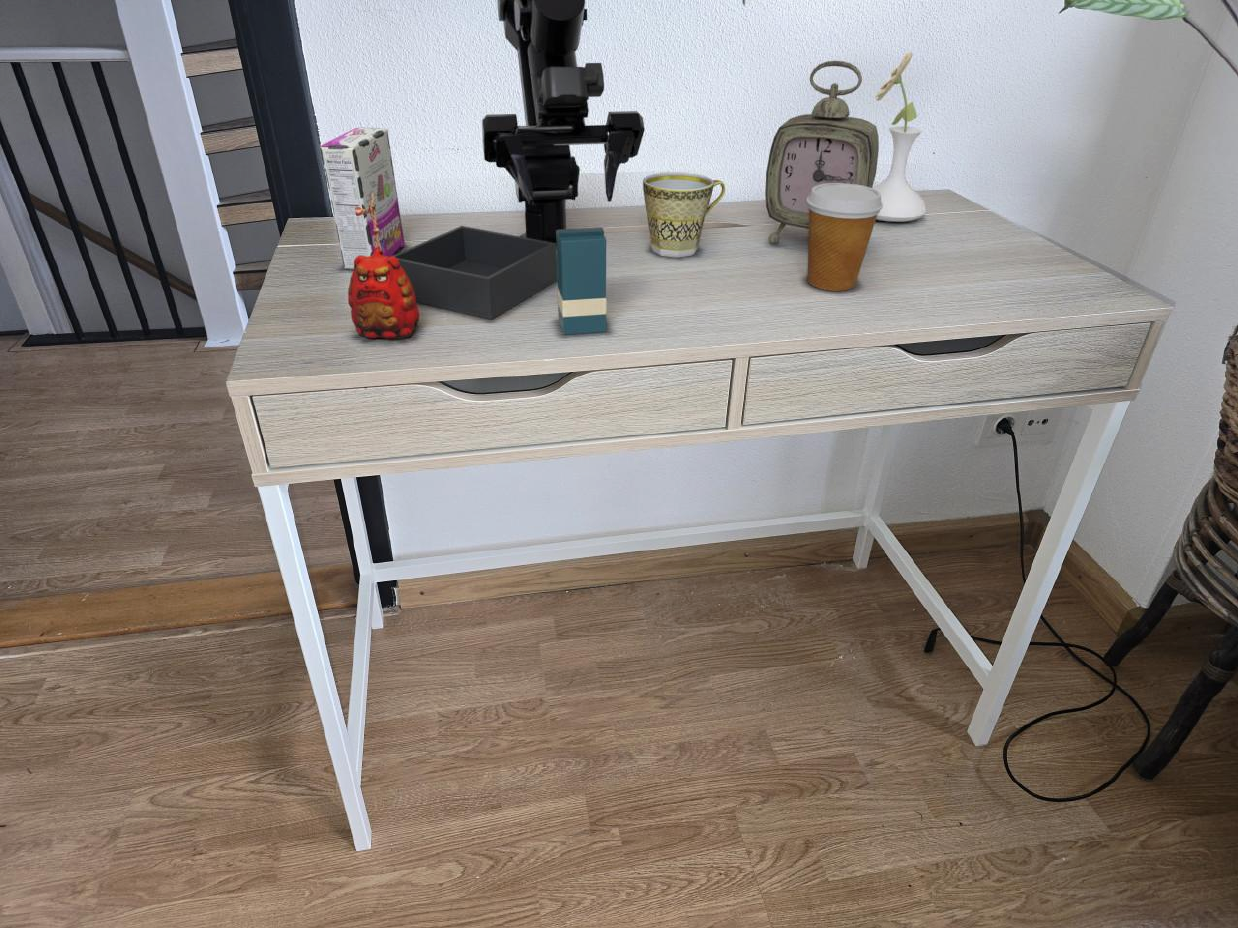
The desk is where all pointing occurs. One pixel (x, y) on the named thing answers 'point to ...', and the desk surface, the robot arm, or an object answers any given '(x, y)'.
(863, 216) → the disposable coffee cup
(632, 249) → the desk surface
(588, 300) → the teal gift box
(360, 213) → the red clay folk toy
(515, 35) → the robot arm
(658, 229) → the ceramic cup
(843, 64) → the tabletop clock
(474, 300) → the dark grey open box
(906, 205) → the flower in vase
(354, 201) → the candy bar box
